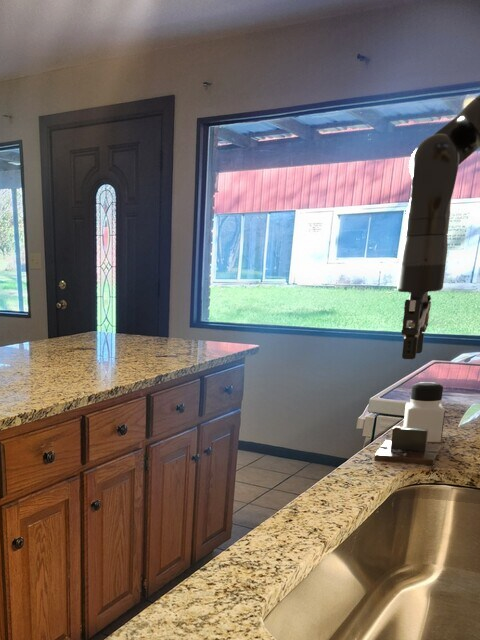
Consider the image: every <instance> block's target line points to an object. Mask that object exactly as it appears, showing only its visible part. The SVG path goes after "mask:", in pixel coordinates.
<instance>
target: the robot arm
mask: <svg viewBox="0 0 480 640" xmlns="http://www.w3.org/2000/svg"><path fill="white" fill-rule="evenodd" d="M478 149H480V94H478V95H477V96H476V97H475V98H474V99H472V100H471V101H470V102H469V103H468V104H467V105H466V106H465V107H464V108H463V109H462V110H461V112H460V113H458V115H456V116H455V117H454V118H453V119H452V120H450V121H449V122H448V123H446V124H445V125H444V126H442V127H441V128H440V129H439V130H438V131H436V132H435V133H433V135H430V136H429V137H427V138H425V139H424V140H423V141H422V142H420V144H419V145H418V146H417V147H416V148H415V150H414V151H413V153H412V154H411V157H410V160H409V165H408V166H409V167H408V168H409V173H410V175H411V187H410V199H409V203H408V206H407V208H406V212H405V213H406V214H405V219H404V220H405V221H404V231H403V239H402V244H401V248H400V254H399V255H400V256H399V266H398V274H397V284H396V290H397V291H398V292H400V293H409V297H408V299H405V301H404V305H403V306H404V307H403V318H402V329H401V332H400V333H401V335H402V338H403V344H402V353H401V354H402V355H401V358H402V359H403V360H414V359H416V358H417V354H421V353H422V352H423V349H424V348H423V347H424V339H425V333H426V331H427V329H428V326H429V320H430V311H431V307H432V301H431V300H432V296H431V295H430V294H429V293H430V292H439V291H441V290H442V289H443V288H444V281H445V274H446V265H447V257H448V248H449V247H448V245H449V244H448V234H449V228H450V227H449V226H450V217H451V206H452V205H451V204H452V197H453V194H454V190H455V185H456V181H457V176H458V171H459V165H461V164H462V163H463V162H465V160H466V159H468V158H469V157H470V156H471V155H472V154H474V153H475V152H476V151H477V150H478Z"/></svg>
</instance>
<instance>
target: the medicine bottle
mask: <svg viewBox="0 0 480 640" xmlns="http://www.w3.org/2000/svg"><path fill="white" fill-rule="evenodd" d="M410 391H411V392H410V401H409V402H406V403H405V407H404V408H405V409H404V416H403V426H402V427H407V428H422V429H428V437H427V443H437V444H439V443H441V442H442V440H443V432H444V423H445V418H446V409H445V408H444V406H443V405H442V400H443V393H444V386H443V385H442V384H440V383H438V382H432V381H431V382H430V381H421V382H416V383H414V384H413V385H412V386H411V390H410Z"/></svg>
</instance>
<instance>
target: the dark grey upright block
mask: <svg viewBox="0 0 480 640" xmlns="http://www.w3.org/2000/svg"><path fill="white" fill-rule="evenodd" d="M427 437H428V429H422V428H407V427H403V426H401V425H395V426H393V428H392V433H391V440H390V441H391V449H398V450H410V451H422V452H425V450H426V446H427V443H428V442H427Z"/></svg>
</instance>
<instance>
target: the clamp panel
mask: <svg viewBox="0 0 480 640" xmlns="http://www.w3.org/2000/svg"><path fill="white" fill-rule="evenodd" d="M391 441H392V440H388V439H387V440H386V439H385V441H384V442H383V444H382V445H380V446H379V449H377V451H376V453H375V454H374V459H373V461H376V462H385V463H386V462H387V463H397V464H398V463H399V464H407V465H418V466H429V467H432V466H434V464H435V462H436V460H437V457H438V455H439V453H440V451H441V444H439V443H429V442H427V446H426V450H425V452H422V451H410V450H398V449H391Z"/></svg>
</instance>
